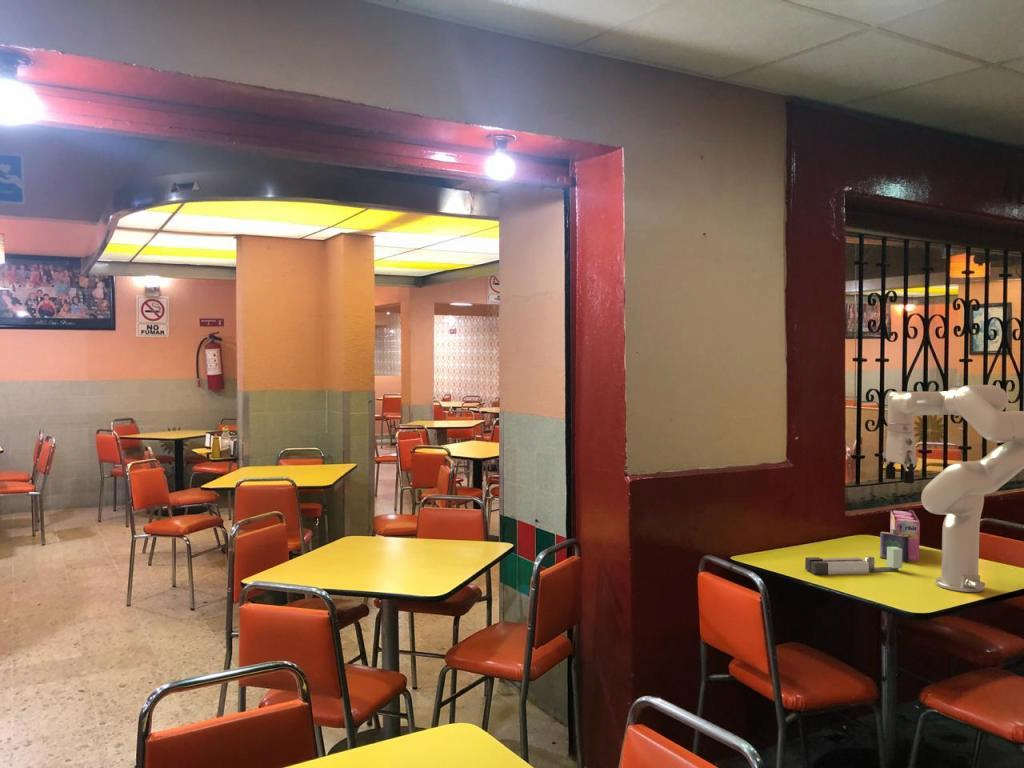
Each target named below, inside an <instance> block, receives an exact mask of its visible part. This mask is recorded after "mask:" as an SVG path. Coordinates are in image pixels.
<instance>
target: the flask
mask: <svg viewBox="0 0 1024 768" xmlns="http://www.w3.org/2000/svg"><path fill="white" fill-rule="evenodd" d="M896 530H897V529H892V531H893V533H890V532H888V531H887V532H886V531H880V533H879V536H880V539H879V540H880V545H879V548H880V549H879V550H880V551H879V558H881V559H883V560H887V547H898V548H900V549H902V564H903V563H905V564H908V563H909V560H908V557H909V555H908V554H909V553H908V540H909V539H908V536H907V535H904V534H901V533H899V532H897V531H896Z"/></svg>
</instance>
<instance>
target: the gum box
mask: <svg viewBox="0 0 1024 768" xmlns="http://www.w3.org/2000/svg"><path fill="white" fill-rule="evenodd" d="M889 521H890V523H889V524H890V526H889V528H890V532H889V533H893V531H892V529H897V530H896V531H897V532H899V533H901V534H904V535H907V536H908V539H909V540H908V553H909V554H908V555H909V557H908V561H914V562H920V561H919V560H920V536H921V535H920V533H921V532H920V531H921V529H920V528H921V527H920V526H921V523H920V520H919V519H918V517H917V515H916V513H915V511H914V510H912V509H909V510H908V511H903V510H895V509H894V508H890V519H889Z"/></svg>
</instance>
